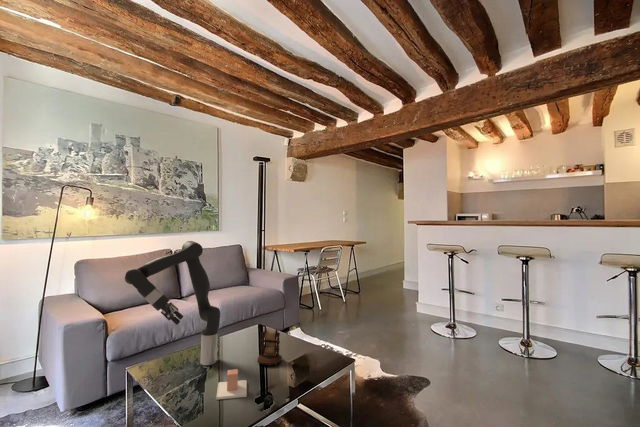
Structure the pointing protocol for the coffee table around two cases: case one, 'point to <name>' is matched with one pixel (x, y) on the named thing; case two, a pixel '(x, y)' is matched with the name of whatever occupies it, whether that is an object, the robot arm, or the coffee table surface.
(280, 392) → the coffee table surface
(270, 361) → the brown piece
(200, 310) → the robot arm
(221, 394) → the pad
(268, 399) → the black chunky block
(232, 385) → the terracotta block
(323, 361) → the coffee table surface
